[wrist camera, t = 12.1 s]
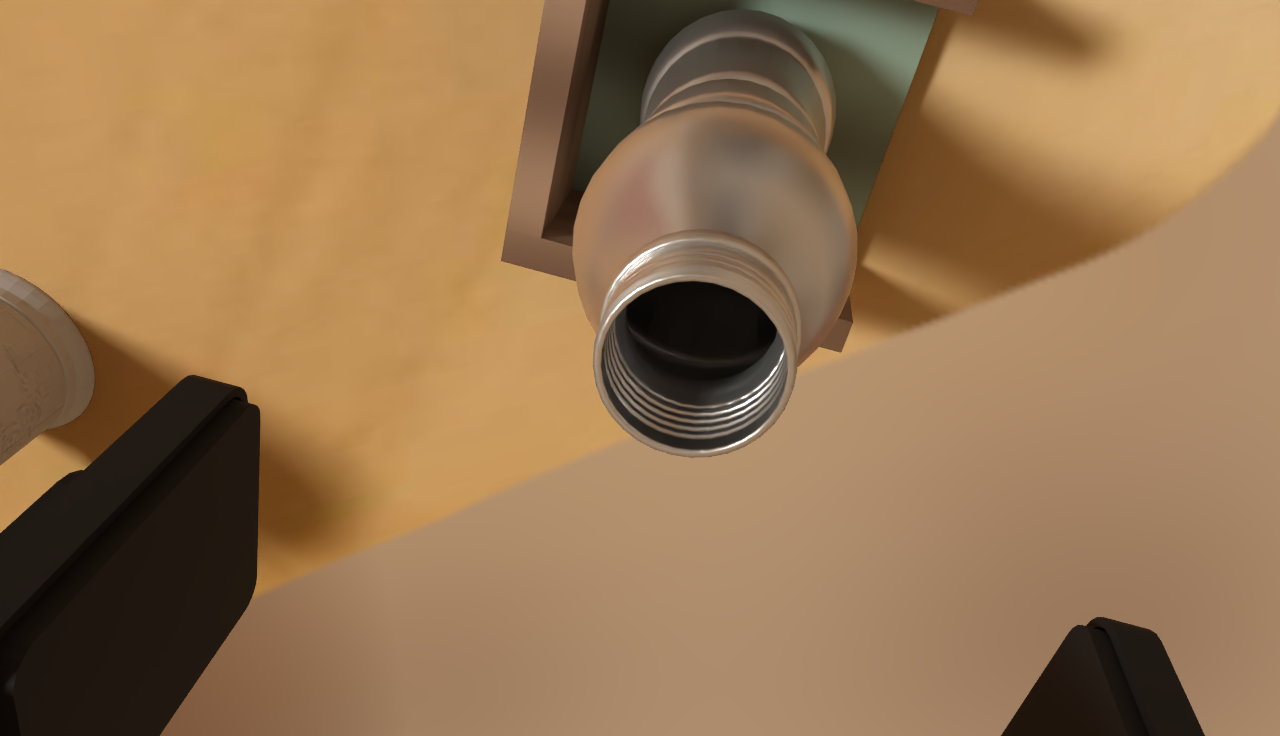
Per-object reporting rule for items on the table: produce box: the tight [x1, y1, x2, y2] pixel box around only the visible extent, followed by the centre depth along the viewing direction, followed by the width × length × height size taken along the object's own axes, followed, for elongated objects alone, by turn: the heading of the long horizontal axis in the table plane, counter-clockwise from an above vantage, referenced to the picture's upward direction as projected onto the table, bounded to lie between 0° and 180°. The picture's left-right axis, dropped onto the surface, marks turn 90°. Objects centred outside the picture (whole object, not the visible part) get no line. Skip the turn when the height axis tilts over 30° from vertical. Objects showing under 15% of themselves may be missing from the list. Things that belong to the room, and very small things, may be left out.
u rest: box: [501, 0, 978, 353], centre depth 32 cm, size 12×12×6 cm
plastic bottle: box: [572, 9, 858, 457], centre depth 25 cm, size 6×7×20 cm
